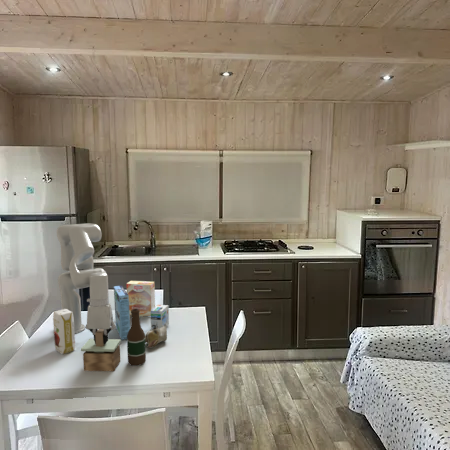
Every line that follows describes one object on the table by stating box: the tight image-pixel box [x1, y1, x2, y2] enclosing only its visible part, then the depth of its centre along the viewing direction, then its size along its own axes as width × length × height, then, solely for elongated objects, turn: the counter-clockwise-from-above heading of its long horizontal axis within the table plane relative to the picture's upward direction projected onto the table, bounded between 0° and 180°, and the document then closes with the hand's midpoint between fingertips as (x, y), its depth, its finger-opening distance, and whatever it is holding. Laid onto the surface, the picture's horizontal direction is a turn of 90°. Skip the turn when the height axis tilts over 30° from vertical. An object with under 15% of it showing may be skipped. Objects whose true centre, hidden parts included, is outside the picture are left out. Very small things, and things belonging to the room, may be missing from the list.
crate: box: [82, 344, 121, 372], centre depth 176 cm, size 13×9×8 cm
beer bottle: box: [126, 309, 147, 367], centre depth 178 cm, size 8×8×24 cm
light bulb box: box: [150, 304, 170, 330], centre depth 220 cm, size 11×7×11 cm, turn 168°
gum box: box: [113, 285, 131, 341], centre depth 211 cm, size 20×5×23 cm, turn 23°
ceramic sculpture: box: [145, 326, 168, 349], centre depth 198 cm, size 11×9×15 cm
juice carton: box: [52, 309, 76, 355], centre depth 191 cm, size 8×9×19 cm
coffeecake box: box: [125, 280, 156, 317], centre depth 239 cm, size 15×7×20 cm, turn 81°
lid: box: [80, 329, 122, 352], centre depth 175 cm, size 14×10×8 cm
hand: (101, 342), depth 175 cm, fingers closed on lid, 3 cm apart
